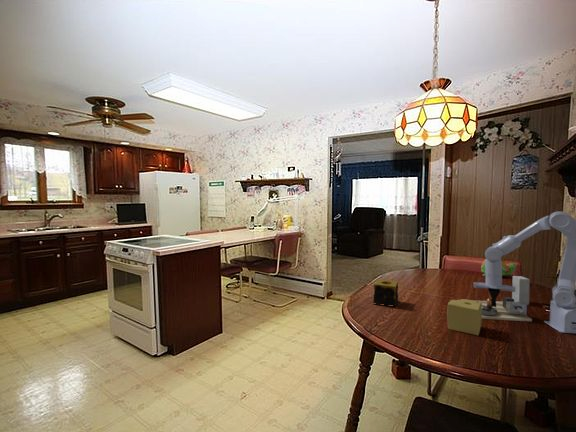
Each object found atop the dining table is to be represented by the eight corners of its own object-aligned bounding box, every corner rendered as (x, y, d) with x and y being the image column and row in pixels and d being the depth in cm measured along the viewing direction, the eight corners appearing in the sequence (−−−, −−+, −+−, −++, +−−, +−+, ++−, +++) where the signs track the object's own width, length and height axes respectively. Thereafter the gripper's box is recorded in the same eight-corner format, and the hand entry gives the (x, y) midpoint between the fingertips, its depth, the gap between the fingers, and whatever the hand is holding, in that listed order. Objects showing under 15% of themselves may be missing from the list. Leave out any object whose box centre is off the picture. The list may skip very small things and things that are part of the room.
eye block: (526, 315, 118) (526, 304, 118) (510, 314, 120) (510, 303, 119) (522, 312, 121) (522, 301, 121) (506, 312, 123) (506, 301, 122)
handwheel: (502, 313, 120) (502, 301, 120) (488, 317, 117) (488, 305, 117) (480, 306, 129) (480, 295, 128) (466, 309, 125) (467, 298, 125)
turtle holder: (515, 280, 171) (516, 261, 170) (479, 276, 183) (479, 257, 182) (517, 276, 180) (517, 257, 179) (482, 272, 192) (482, 254, 191)
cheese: (451, 320, 118) (452, 296, 118) (483, 327, 111) (483, 301, 111) (446, 329, 110) (446, 303, 110) (480, 337, 103) (480, 309, 103)
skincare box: (529, 305, 133) (530, 279, 132) (518, 304, 133) (519, 279, 133) (521, 300, 139) (522, 276, 138) (511, 300, 139) (512, 275, 139)
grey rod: (526, 317, 116) (526, 306, 116) (517, 317, 117) (518, 306, 116) (510, 307, 128) (510, 297, 127) (502, 306, 128) (502, 296, 128)
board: (531, 321, 115) (531, 319, 115) (476, 318, 119) (476, 316, 119) (504, 303, 135) (504, 301, 135) (457, 301, 139) (457, 299, 139)
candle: (373, 304, 137) (372, 284, 137) (377, 298, 146) (377, 278, 146) (395, 308, 133) (395, 286, 132) (398, 301, 141) (398, 281, 141)
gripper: (473, 274, 124) (473, 305, 124) (516, 278, 116) (516, 312, 116) (473, 271, 130) (473, 301, 130) (514, 274, 121) (514, 306, 122)
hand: (493, 305), depth 124 cm, fingers closed, pressing on handwheel
